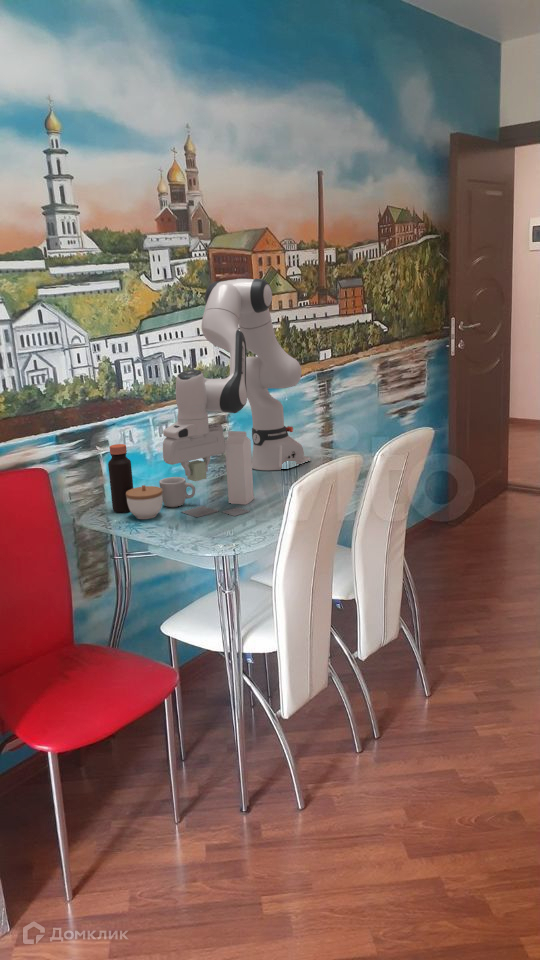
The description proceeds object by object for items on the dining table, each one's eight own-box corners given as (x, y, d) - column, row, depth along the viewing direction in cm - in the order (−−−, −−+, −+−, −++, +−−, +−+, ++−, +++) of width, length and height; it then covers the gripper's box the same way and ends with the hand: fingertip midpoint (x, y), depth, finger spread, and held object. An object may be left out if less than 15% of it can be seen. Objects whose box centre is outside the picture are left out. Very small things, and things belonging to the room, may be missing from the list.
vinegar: (108, 512, 251) (101, 448, 246) (120, 506, 257) (113, 443, 252) (128, 513, 249) (121, 448, 244) (139, 507, 255) (133, 443, 250)
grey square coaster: (237, 507, 249) (237, 507, 249) (250, 511, 245) (250, 511, 245) (221, 512, 245) (221, 511, 245) (234, 516, 241) (234, 515, 241)
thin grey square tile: (202, 506, 252) (202, 505, 252) (218, 511, 247) (218, 510, 247) (181, 512, 248) (181, 511, 248) (196, 517, 242) (196, 517, 242)
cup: (198, 501, 258) (196, 476, 256) (193, 508, 251) (191, 483, 249) (164, 501, 260) (162, 477, 258) (158, 509, 252) (156, 483, 250)
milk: (236, 498, 259) (232, 429, 254) (254, 499, 257) (250, 429, 252) (228, 503, 254) (223, 433, 248) (246, 504, 252) (242, 433, 246)
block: (198, 476, 247) (197, 460, 246) (206, 478, 244) (205, 462, 243) (187, 479, 244) (186, 462, 243) (195, 481, 242) (194, 464, 240)
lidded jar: (127, 523, 240) (124, 492, 237) (128, 512, 250) (125, 482, 248) (165, 519, 241) (162, 488, 239) (164, 509, 252) (161, 479, 249)
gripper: (215, 420, 249) (218, 465, 253) (158, 431, 237) (162, 478, 240) (228, 422, 245) (231, 468, 248) (170, 434, 232) (174, 482, 235)
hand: (196, 473), depth 244 cm, fingers closed on block, 4 cm apart
